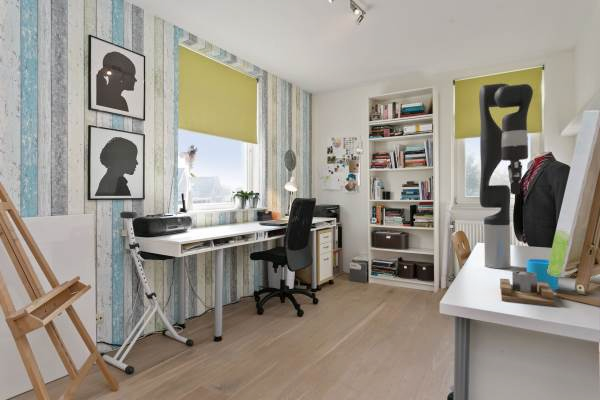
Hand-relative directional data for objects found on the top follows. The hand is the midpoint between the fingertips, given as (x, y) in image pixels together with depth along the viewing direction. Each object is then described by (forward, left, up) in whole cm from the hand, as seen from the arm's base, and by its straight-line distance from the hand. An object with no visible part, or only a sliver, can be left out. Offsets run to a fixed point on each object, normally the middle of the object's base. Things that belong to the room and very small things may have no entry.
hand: (515, 194), depth 117 cm
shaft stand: (+18, +1, -30) cm, 35 cm away
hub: (+18, +1, -28) cm, 33 cm away
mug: (+2, +7, -30) cm, 31 cm away
